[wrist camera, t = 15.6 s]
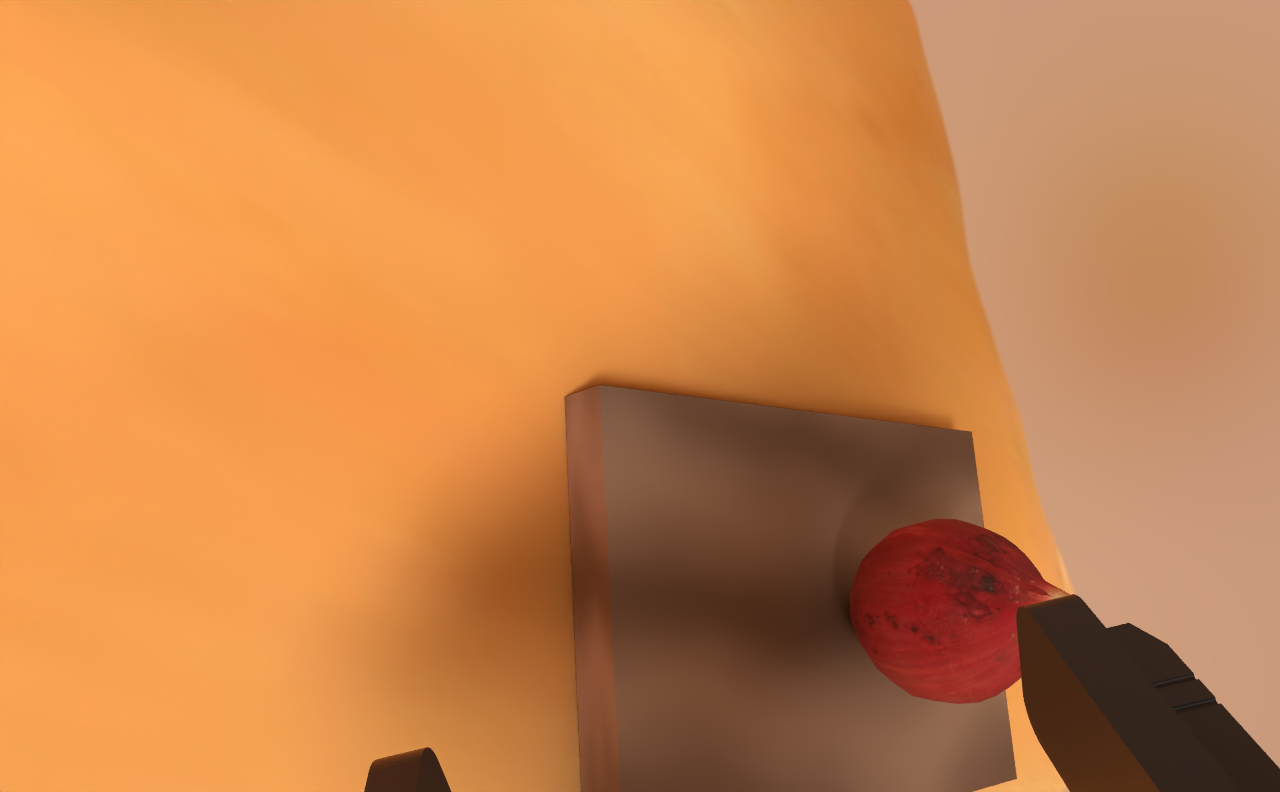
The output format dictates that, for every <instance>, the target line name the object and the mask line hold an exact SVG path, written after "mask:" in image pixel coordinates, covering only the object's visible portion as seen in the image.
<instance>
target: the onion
mask: <svg viewBox="0 0 1280 792" xmlns="http://www.w3.org/2000/svg"><path fill="white" fill-rule="evenodd" d="M1068 595H1070V594H1068V593H1066V592H1064V591H1063V590H1061V589H1059V588H1057V587H1055V586H1053V585H1052V584H1050V583H1048V582H1046V581H1045V580H1044V579H1043V578H1042V576H1041V574H1040V572H1039V571H1038V570H1037V568H1036V567H1035V566H1034V564H1033V563H1032V562H1031V561H1030V560H1029V558H1028V557H1027V556H1026V555H1025V554H1024V553H1023V552H1022V551H1021V550H1020V549H1019V548H1018V547H1017V546H1016V545H1014V544H1013V543H1012V542H1010V541H1009V540H1007V539H1006V538H1004V537H1003V536H1001V535H998V534H996V533H994V532H992V531H990V530H988V529H985V528H982V527H980V526H977V525H975V524H971V523H968V522H964V521H961V520H957V519H932V520H928V521H924V522H921V523H917V524H913V525H910V526H906V527H903V528H899V529H896V530H893V531H892V532H891V533H889V534H888V535H887V536H886V537H884V538H883V539H882V540H881V541H880V542H878V543H877V544H876V545H875V546H874V547H873V548H872V549H871V550H870V551H869V553H868V554H867V555H866V556H865V557H864V558H863V559H862V561H861V563H860V565H859V568H858V570H857V572H856V575H855V578H854V582H853V585H852V588H851V591H850V617H851V621H852V624H853V626H854V629H855V632H856V635H857V638H858V640H859V642H860V643H861V645H862V646H863V648H864V650H865V651H866V653H867V654H868V656H869V657H870V659H871V660H872V662H873V664H874V665H875V667H876V668H877V669H878V670H879V671H880V672H881V673H882V674H884V675H885V676H886V677H887V678H888V679H890V680H891V681H892V682H893V683H894V684H896V685H897V686H899V687H900V688H902V689H903V690H904V691H906V692H907V693H909V694H910V695H911V696H914V697H919V698H923V699H928V700H932V701H939V702H946V703H954V704H966V703H979V702H982V701H984V700H987V699H989V698H992V697H995V696H997V695H998V694H1000V693H1001V692H1003V691H1004V690H1006V689H1007V688H1009V687H1010V686H1011V685H1013V684H1014V683H1015V682H1016V681H1018V680H1019V679H1020V678H1021V667H1020V656H1019V645H1018V634H1017V624H1016V613H1017V609H1018V608H1019V607H1022V606H1026V605H1030V604H1034V603H1039V602H1043V601H1047V600H1051V599H1055V598H1059V597H1063V596H1068Z"/></svg>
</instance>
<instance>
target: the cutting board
mask: <svg viewBox="0 0 1280 792" xmlns="http://www.w3.org/2000/svg"><path fill="white" fill-rule="evenodd" d="M565 414H566V438H567V462H568V486H569V510H570V534H571V558H572V582H573V606H574V631H575V655H576V679H577V703H578V727H579V751H580V775H581V792H973V791H976V790H980V789H983V788H986V787H990V786H993V785H997V784H1000V783H1004V782H1007V781H1011V780H1014V779H1017V776H1016V768H1015V760H1014V753H1013V745H1012V737H1011V730H1010V722H1009V714H1008V707H1007V699H1006V691H1005V690H1004V691H1003V692H1001V693H1000V694H998V695H997V696H995V697H992V698H989V699H987V700H984V701H982V702H979V703H966V704H954V703H946V702H939V701H932V700H928V699H923V698H919V697H914V696H911V695H910V694H909V693H907V692H906V691H904V690H903V689H902V688H900V687H899V686H897V685H896V684H894V683H893V682H892V681H891V680H890V679H888V678H887V677H886V676H885V675H884V674H882V673H881V672H880V671H879V670H878V669H877V668H876V667H875V665H874V664H873V662H872V660H871V659H870V657H869V656H868V654H867V653H866V651H865V650H864V648H863V646H862V645H861V643H860V642H859V640H858V638H857V635H856V632H855V629H854V626H853V624H852V621H851V617H850V591H851V588H852V585H853V582H854V578H855V575H856V572H857V570H858V568H859V565H860V563H861V561H862V559H863V558H864V557H865V556H866V555H867V554H868V553H869V551H870V550H871V549H872V548H873V547H874V546H875V545H876V544H877V543H878V542H880V541H881V540H882V539H883V538H884V537H886V536H887V535H888V534H889V533H891V532H892V531H893V530H896V529H899V528H903V527H906V526H910V525H913V524H917V523H921V522H924V521H928V520H932V519H957V520H961V521H964V522H968V523H971V524H975V525H977V526H980V527H982V528H984V523H983V515H982V507H981V500H980V492H979V484H978V477H977V469H976V461H975V454H974V446H973V438H972V432H969V431H961V430H953V429H945V428H937V427H929V426H921V425H913V424H905V423H898V422H890V421H882V420H874V419H866V418H858V417H850V416H842V415H834V414H826V413H818V412H811V411H803V410H795V409H787V408H779V407H771V406H763V405H755V404H747V403H739V402H731V401H723V400H716V399H708V398H700V397H692V396H684V395H676V394H668V393H660V392H652V391H644V390H636V389H629V388H621V387H613V386H605V385H598V386H595V387H592V388H589V389H586V390H583V391H580V392H577V393H575V394H572V395H569V396H566V397H565Z"/></svg>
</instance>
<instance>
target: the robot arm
mask: <svg viewBox="0 0 1280 792" xmlns="http://www.w3.org/2000/svg"><path fill="white" fill-rule="evenodd" d="M1016 624H1017V634H1018V645H1019V656H1020V667H1021V678H1022V689H1023V697H1024V702H1025V706H1026V710H1027V714H1028V717H1029V720H1030V723H1031V725H1032V728H1033V730H1034V732H1035V734H1036V736H1037V738H1038V740H1039V742H1040V744H1041V746H1042V747H1043V749H1044V751H1045V752H1046V754H1047V755H1048V757H1049V759H1050V760H1051V762H1052V763H1053V765H1054V767H1055V768H1056V770H1057V771H1058V773H1059V775H1060V776H1061V778H1062V779H1063V781H1064V783H1065V784H1066V786H1067V787H1068V789H1069V791H1070V792H1280V769H1279V767H1278V766H1277V765H1276V764H1275V763H1274V762H1273V761H1272V760H1271V759H1270V757H1269V756H1268V755H1267V754H1266V753H1265V752H1264V751H1263V750H1262V749H1261V747H1260V746H1259V745H1258V744H1257V743H1256V742H1255V741H1254V740H1253V739H1252V737H1251V736H1250V735H1249V734H1248V733H1247V732H1246V731H1245V730H1244V729H1243V727H1242V726H1241V725H1240V724H1239V723H1238V722H1237V721H1236V720H1235V719H1234V718H1233V716H1231V714H1230V713H1229V712H1228V711H1227V710H1226V709H1225V708H1224V706H1223V705H1222V704H1218V703H1217V702H1216V699H1215V696H1214V695H1213V694H1212V693H1211V692H1210V691H1209V690H1208V689H1207V688H1206V686H1205V685H1204V684H1203V683H1202V682H1201V681H1200V680H1199V679H1198V680H1196V679H1195V677H1194V673H1193V672H1192V671H1191V670H1190V669H1189V668H1188V667H1187V666H1186V664H1184V662H1183V661H1182V660H1181V659H1180V658H1179V657H1178V655H1177V654H1176V653H1175V652H1174V651H1173V650H1172V649H1171V648H1170V647H1169V645H1168V644H1166V643H1164V642H1162V641H1161V640H1159V639H1157V638H1155V637H1153V636H1152V635H1150V634H1148V633H1146V632H1144V631H1142V630H1141V629H1139V628H1137V627H1135V626H1134V625H1132V624H1130V623H1126V624H1122V625H1119V626H1114V627H1110V628H1106V627H1105V626H1104V625H1103V624H1102V623H1101V621H1100V620H1099V619H1098V618H1097V617H1096V615H1095V614H1094V613H1093V612H1092V611H1091V609H1090V608H1089V607H1088V606H1087V605H1086V603H1085V602H1084V601H1083V600H1082V599H1081V598H1080V597H1079V596H1077V595H1075V594H1072V595H1068V596H1063V597H1059V598H1055V599H1051V600H1047V601H1043V602H1039V603H1034V604H1030V605H1026V606H1022V607H1019V608H1018V609H1017V613H1016ZM364 792H451V790H450V787H449V785H448V783H447V780H446V778H445V776H444V773H443V771H442V768H441V766H440V764H439V761H438V759H437V757H436V755H435V753H434V752H433V750H432V749H431V748H428V747H427V748H423V749H418V750H414V751H410V752H406V753H402V754H398V755H393V756H389V757H385V758H381V759H377V760H375V761H374V762H373V763H372V764H371V766H370V770H369V773H368V778H367V782H366V786H365V791H364Z"/></svg>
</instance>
